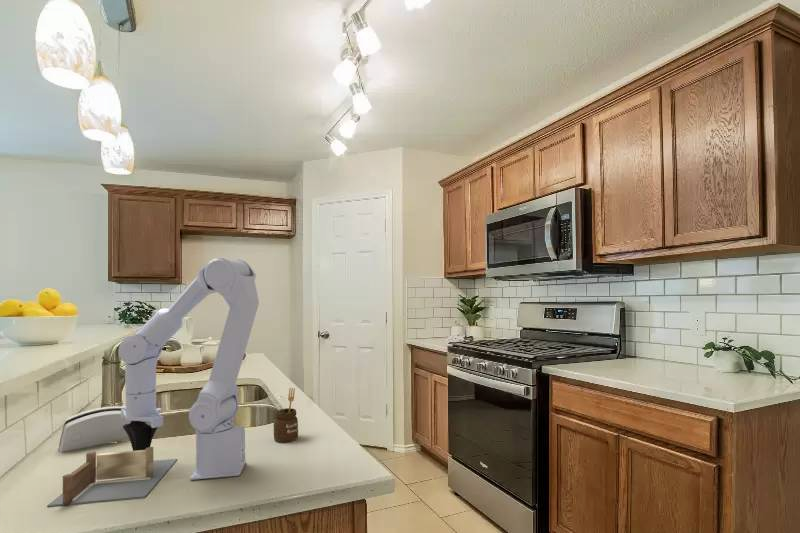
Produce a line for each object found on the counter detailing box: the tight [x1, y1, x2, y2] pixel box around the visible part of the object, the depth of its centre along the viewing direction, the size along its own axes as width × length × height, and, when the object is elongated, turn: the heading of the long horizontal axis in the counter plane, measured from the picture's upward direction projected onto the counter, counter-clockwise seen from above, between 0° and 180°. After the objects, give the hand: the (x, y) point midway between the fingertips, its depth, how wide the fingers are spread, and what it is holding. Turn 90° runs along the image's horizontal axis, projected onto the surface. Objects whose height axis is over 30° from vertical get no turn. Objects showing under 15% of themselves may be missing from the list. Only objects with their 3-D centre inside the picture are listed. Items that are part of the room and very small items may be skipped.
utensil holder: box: [273, 387, 299, 444], centre depth 116 cm, size 6×6×12 cm
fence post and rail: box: [62, 451, 97, 507], centre depth 87 cm, size 2×10×6 cm, turn 9°
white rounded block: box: [58, 405, 131, 453], centre depth 117 cm, size 17×5×10 cm, turn 131°
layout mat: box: [47, 458, 178, 508], centre depth 93 cm, size 16×19×1 cm
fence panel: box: [96, 446, 154, 480], centre depth 93 cm, size 10×1×5 cm, turn 101°
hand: (141, 456), depth 98 cm, fingers closed
